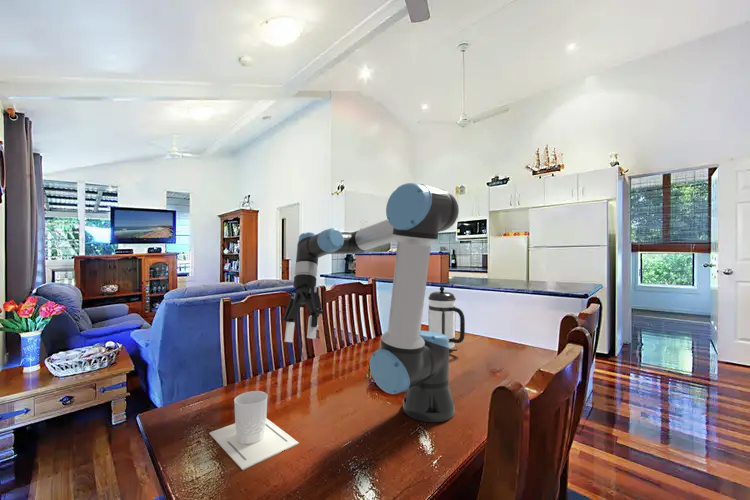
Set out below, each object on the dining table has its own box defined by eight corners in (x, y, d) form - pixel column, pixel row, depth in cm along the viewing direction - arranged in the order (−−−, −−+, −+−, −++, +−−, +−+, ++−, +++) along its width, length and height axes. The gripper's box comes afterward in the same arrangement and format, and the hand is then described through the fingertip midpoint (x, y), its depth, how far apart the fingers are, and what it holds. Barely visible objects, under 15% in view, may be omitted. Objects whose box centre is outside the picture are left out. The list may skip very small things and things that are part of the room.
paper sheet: (298, 443, 82) (298, 442, 82) (242, 470, 72) (242, 468, 72) (260, 414, 96) (260, 413, 96) (209, 433, 86) (209, 432, 86)
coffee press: (425, 354, 153) (425, 288, 153) (426, 344, 169) (426, 284, 168) (464, 356, 150) (465, 289, 150) (461, 346, 166) (461, 285, 166)
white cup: (258, 425, 90) (259, 388, 90) (272, 437, 84) (273, 397, 84) (228, 436, 85) (229, 397, 85) (241, 450, 79) (242, 407, 79)
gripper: (336, 270, 109) (332, 337, 101) (296, 285, 126) (289, 344, 118) (317, 265, 104) (311, 335, 96) (277, 281, 121) (270, 342, 113)
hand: (299, 340), depth 107 cm, fingers open, 13 cm apart
